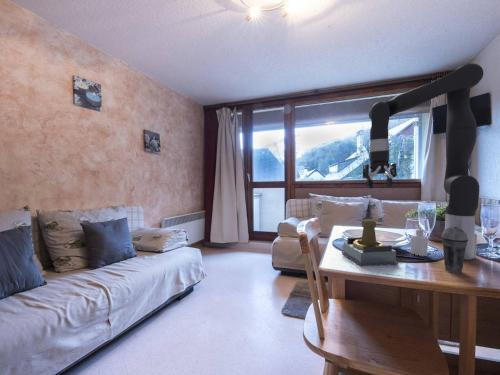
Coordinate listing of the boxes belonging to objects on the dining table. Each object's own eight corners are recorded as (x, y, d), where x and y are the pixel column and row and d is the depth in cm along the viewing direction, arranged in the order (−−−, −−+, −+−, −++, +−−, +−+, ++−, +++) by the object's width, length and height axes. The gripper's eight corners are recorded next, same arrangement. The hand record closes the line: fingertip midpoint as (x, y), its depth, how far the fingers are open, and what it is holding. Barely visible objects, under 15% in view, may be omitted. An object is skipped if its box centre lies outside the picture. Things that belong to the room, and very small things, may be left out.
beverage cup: (472, 273, 84) (474, 215, 83) (457, 276, 82) (459, 217, 81) (450, 265, 91) (451, 212, 90) (435, 268, 89) (436, 213, 88)
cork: (379, 249, 97) (379, 221, 96) (362, 248, 98) (362, 221, 98) (374, 244, 103) (374, 218, 102) (359, 243, 104) (359, 218, 103)
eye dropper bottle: (417, 252, 107) (418, 224, 106) (429, 256, 101) (430, 227, 101) (409, 252, 106) (409, 225, 106) (419, 257, 101) (420, 228, 100)
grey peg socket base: (374, 251, 109) (374, 235, 109) (397, 264, 94) (398, 246, 94) (341, 253, 108) (341, 237, 107) (360, 266, 93) (360, 248, 92)
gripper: (388, 150, 111) (389, 186, 112) (359, 151, 110) (359, 188, 111) (400, 149, 104) (401, 187, 105) (368, 150, 102) (369, 189, 103)
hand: (379, 187), depth 108 cm, fingers open, 8 cm apart
